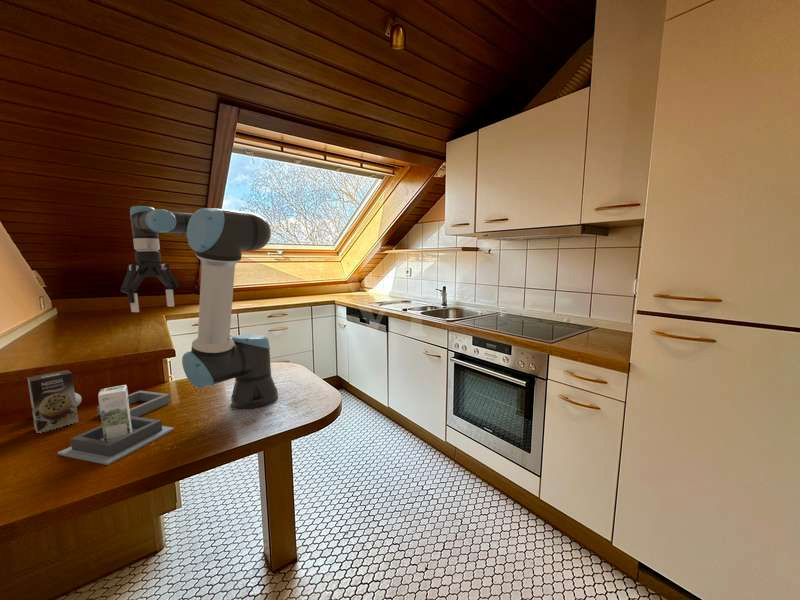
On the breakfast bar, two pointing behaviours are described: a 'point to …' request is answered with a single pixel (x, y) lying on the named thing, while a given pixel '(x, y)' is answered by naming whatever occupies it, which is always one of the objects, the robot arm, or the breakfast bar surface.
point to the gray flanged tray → (106, 452)
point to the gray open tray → (152, 402)
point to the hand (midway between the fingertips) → (154, 309)
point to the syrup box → (115, 412)
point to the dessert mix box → (52, 400)
